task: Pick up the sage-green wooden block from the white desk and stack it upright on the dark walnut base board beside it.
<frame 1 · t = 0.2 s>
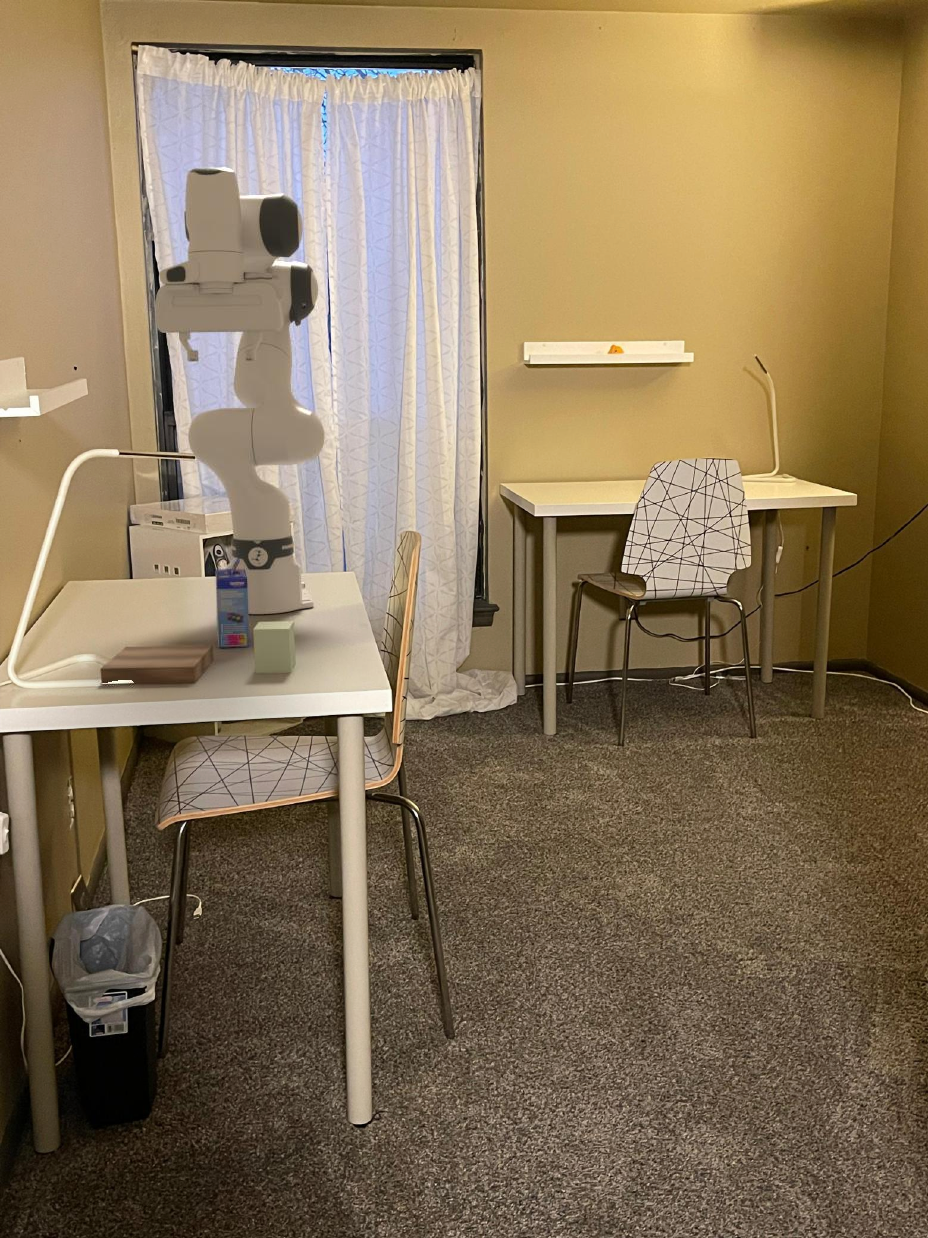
hand: (222, 360, 189), 47 cm above the table, fingers open, 8 cm apart
ink cartridge box: (234, 643, 201), on the table
walnut base: (159, 671, 181), on the table
sage block: (275, 668, 182), on the table
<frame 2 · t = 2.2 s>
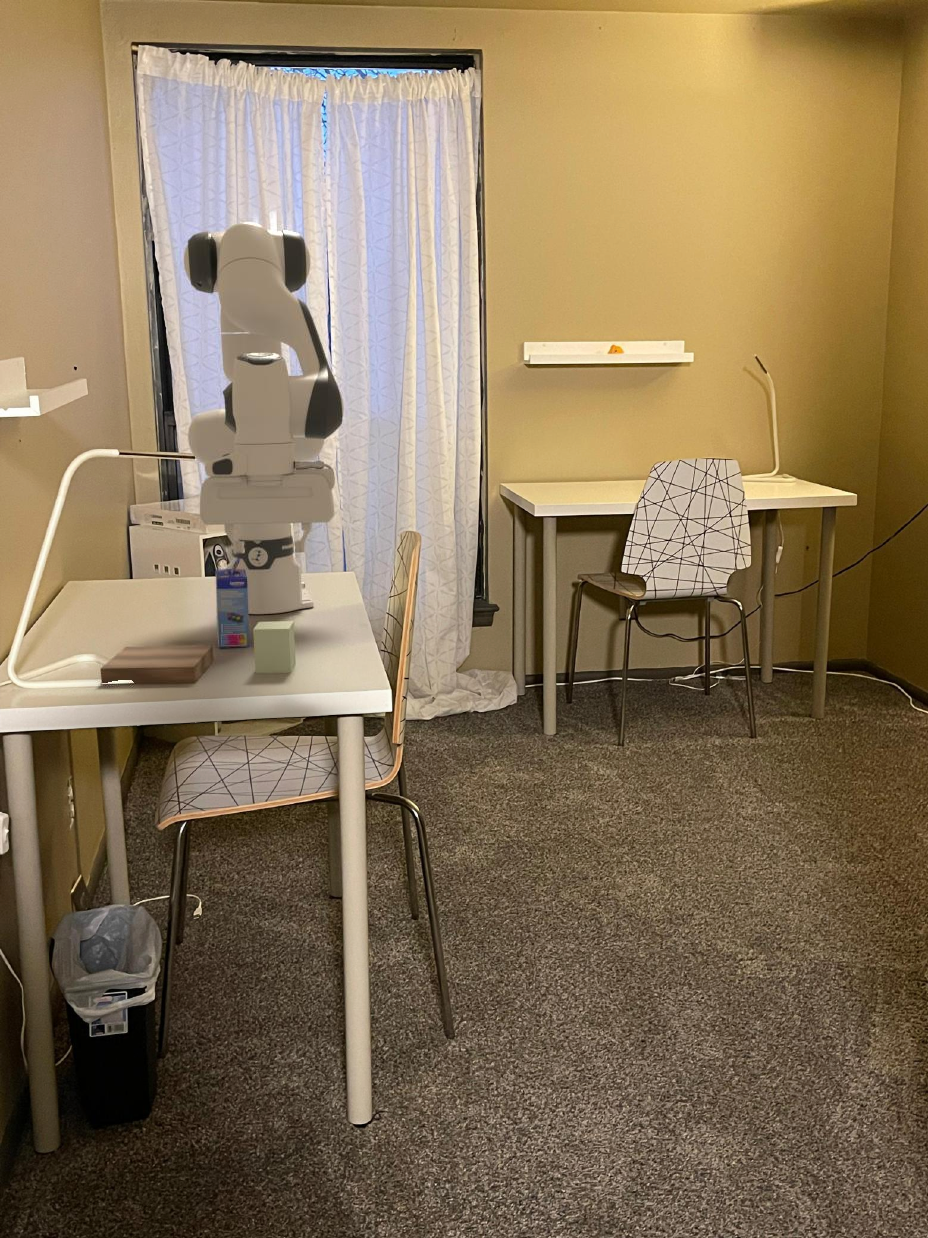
hand: (269, 552, 178), 18 cm above the table, fingers open, 8 cm apart
nothing on the table moved.
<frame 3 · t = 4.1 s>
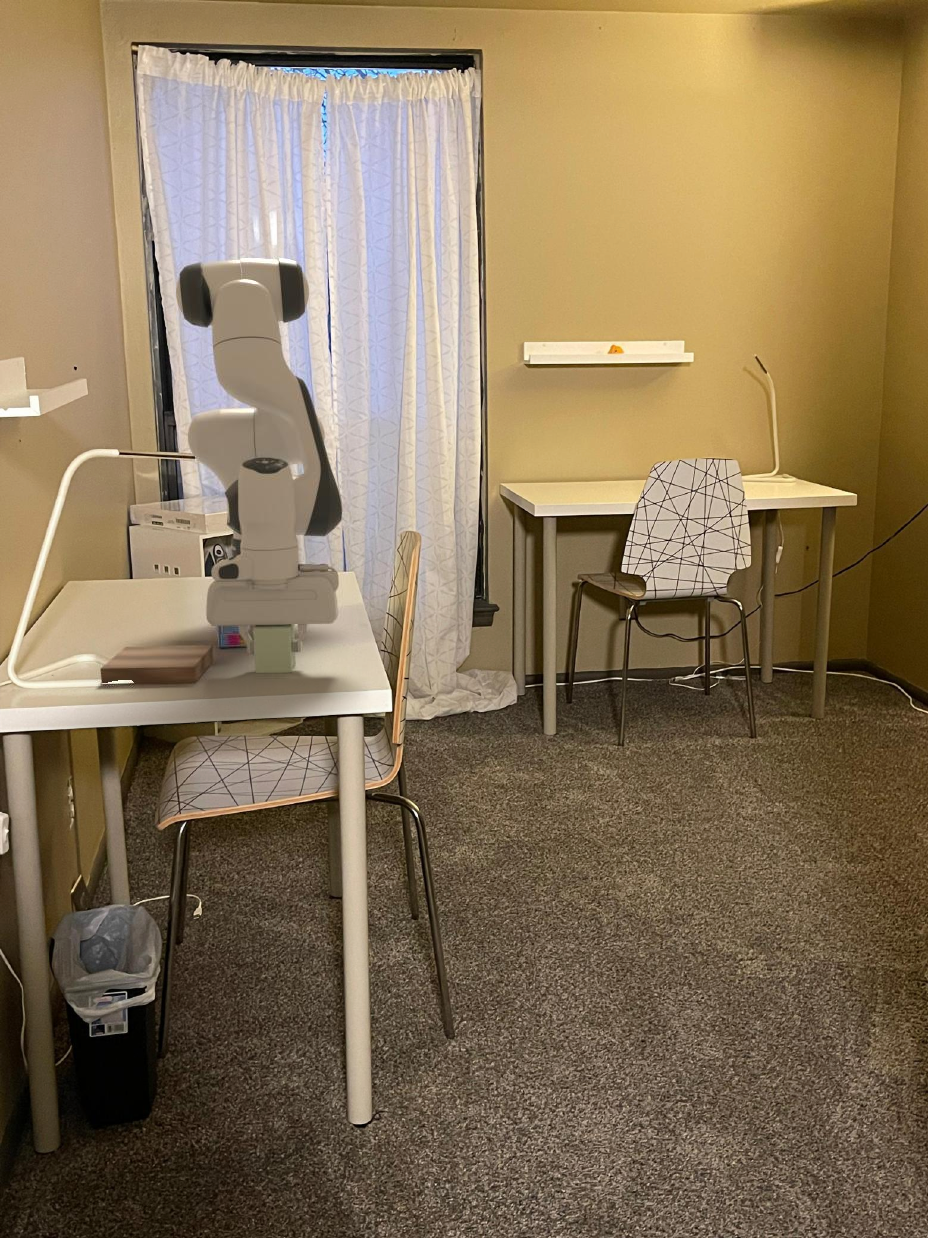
hand: (275, 652, 182), 3 cm above the table, fingers closed on sage block, 5 cm apart
sage block: (275, 668, 182), on the table, touching gripper
everything else where it was.
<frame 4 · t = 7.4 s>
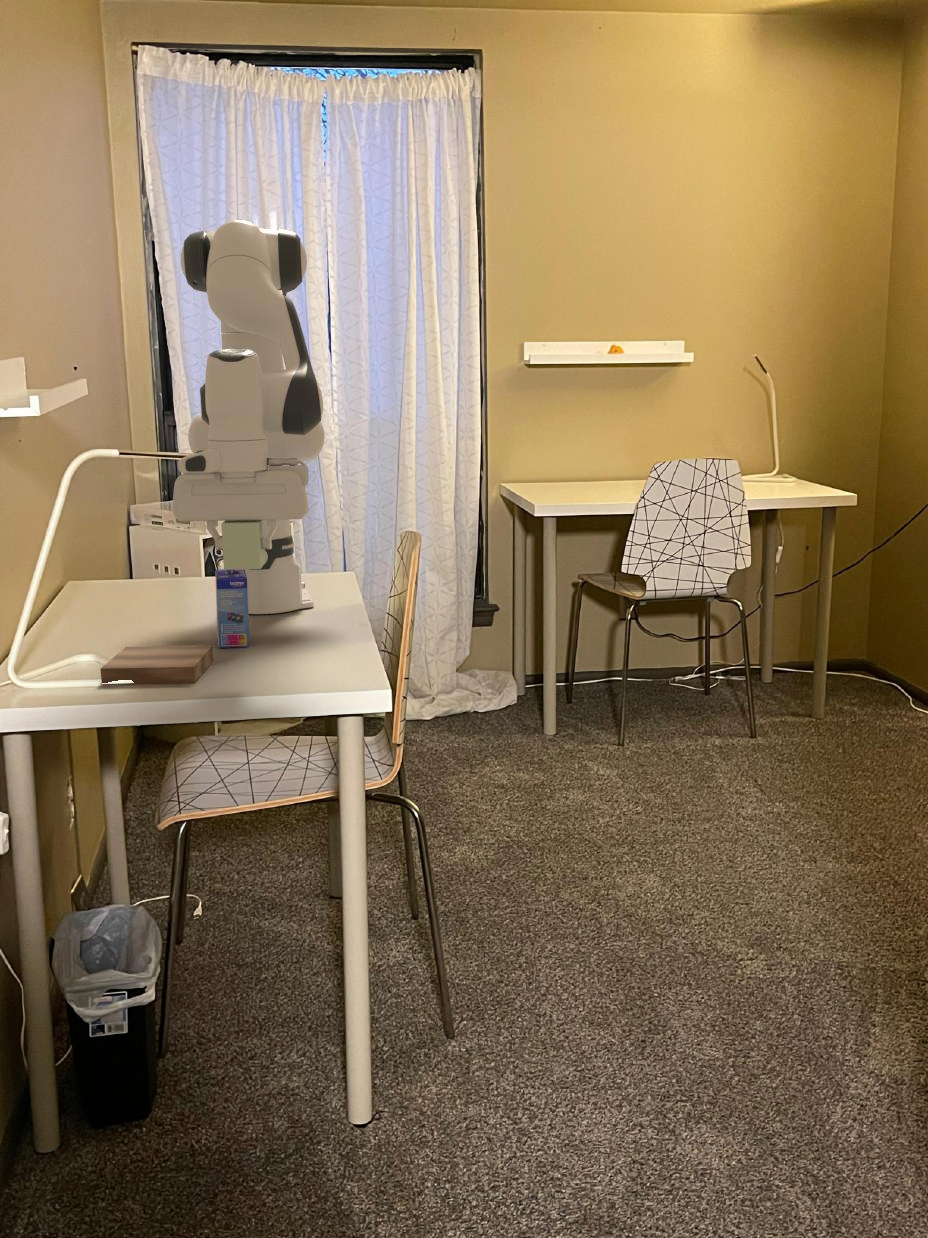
hand: (243, 549, 178), 19 cm above the table, fingers closed on sage block, 5 cm apart
sage block: (245, 566, 179), point 16 cm above the table, touching gripper
everything else where it was.
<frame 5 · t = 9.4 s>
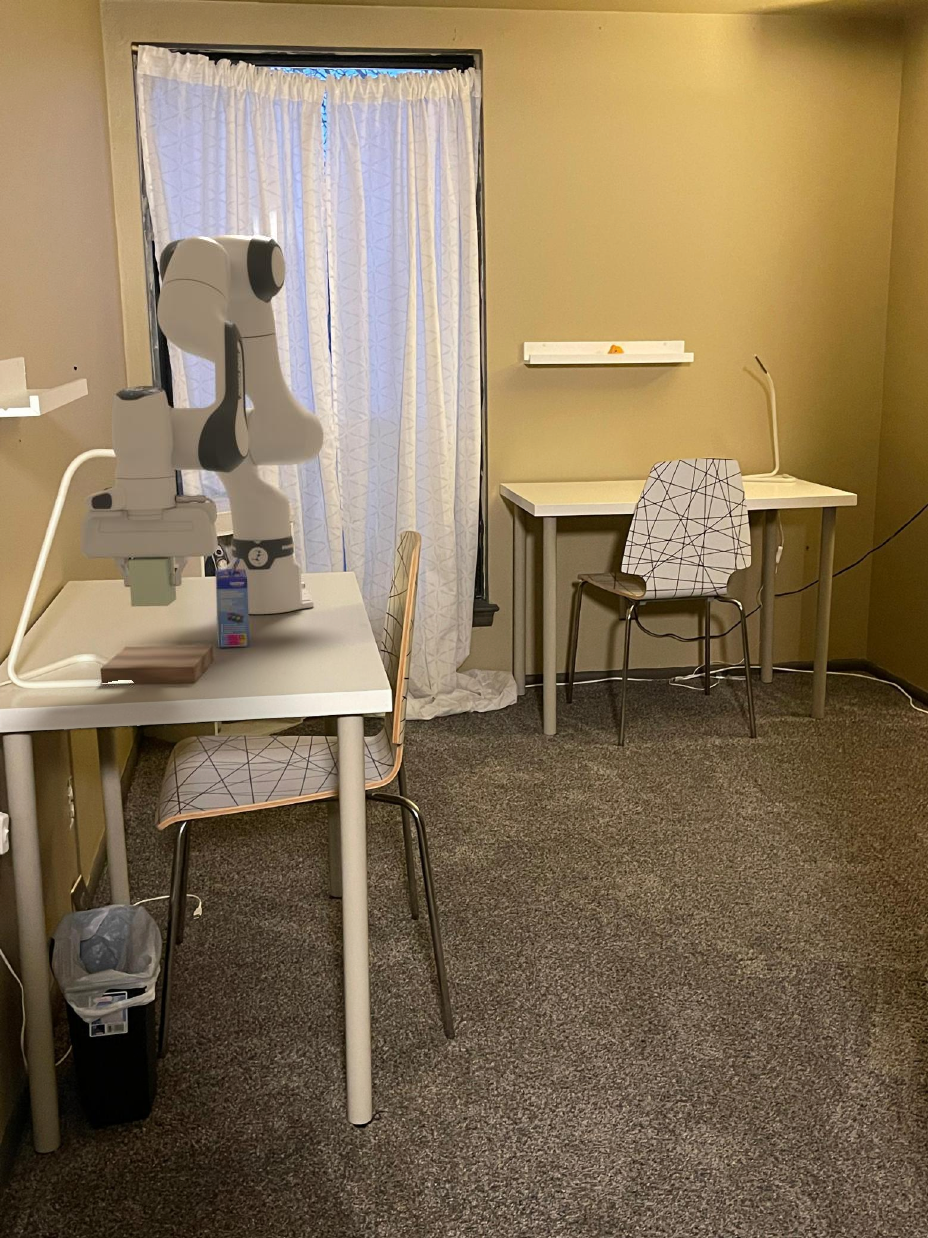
hand: (153, 585, 178), 14 cm above the table, fingers closed on sage block, 5 cm apart
sage block: (154, 602, 179), point 11 cm above the table, touching gripper
everything else where it was.
when the fingers open (7 cm above the table, at t = 11.1 s): sage block drops 1 cm, resting on walnut base.
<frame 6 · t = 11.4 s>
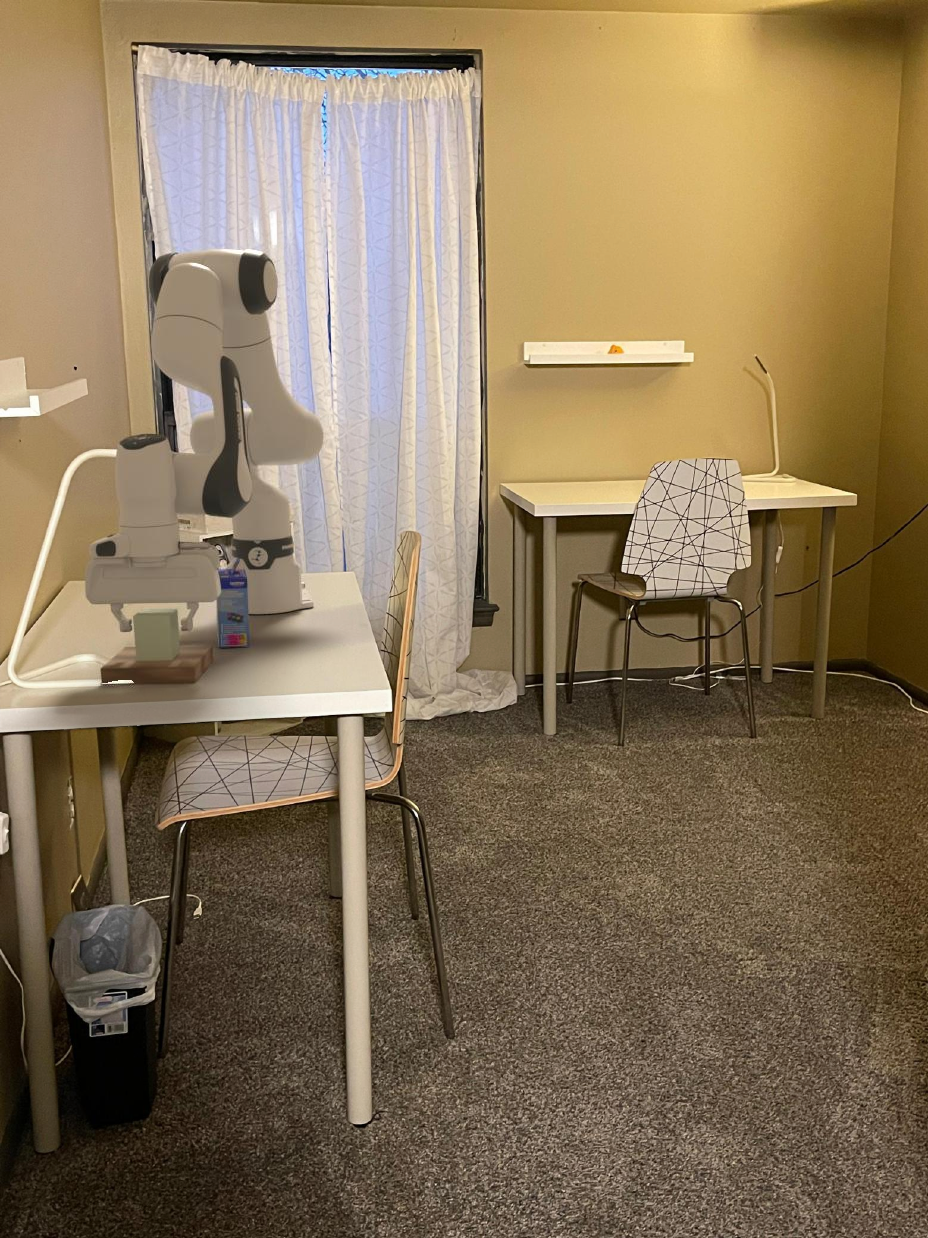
hand: (156, 630, 180), 7 cm above the table, fingers open, 8 cm apart
sage block: (158, 656, 181), point 2 cm above the table, touching walnut base
everything else where it was.
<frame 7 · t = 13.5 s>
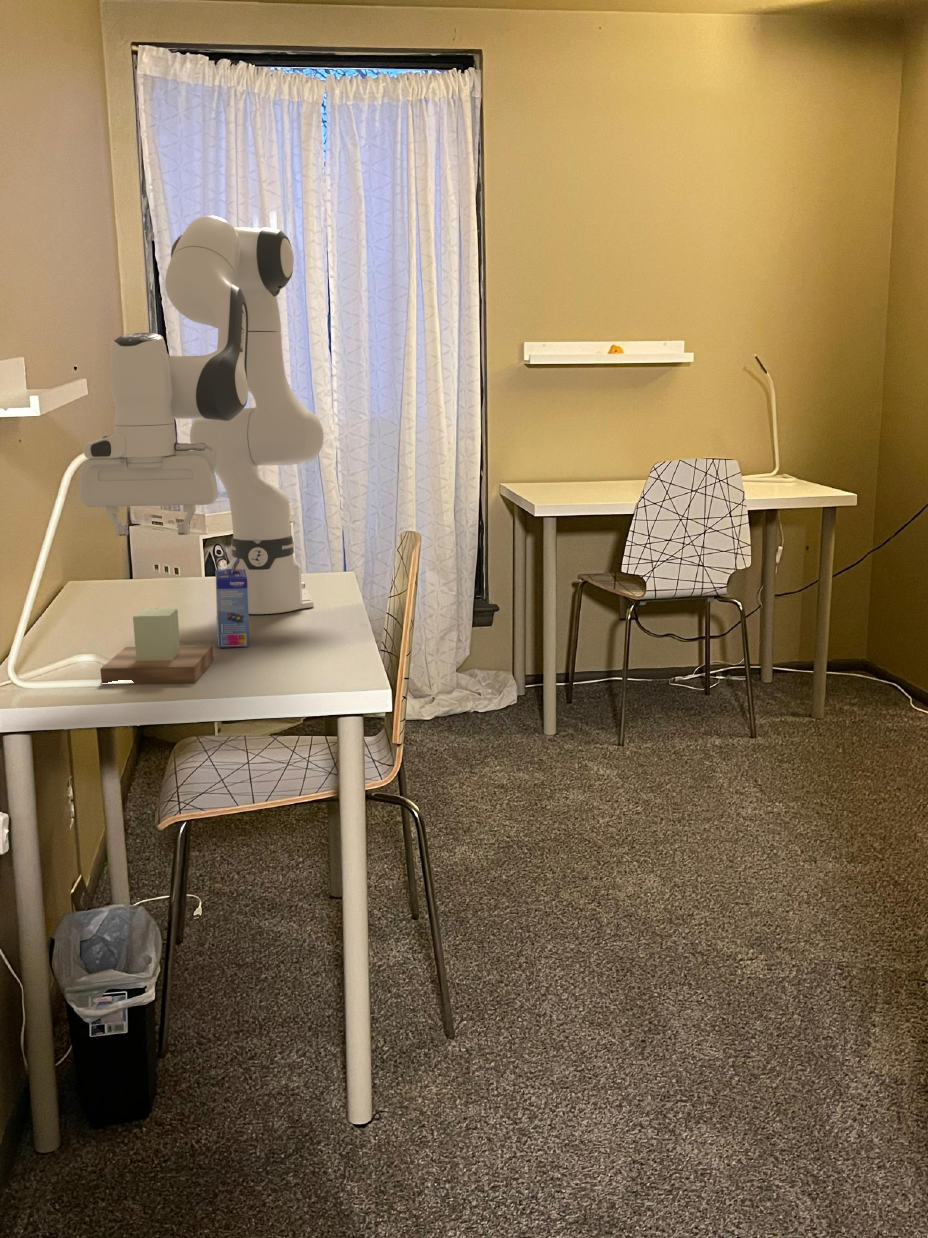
hand: (153, 534, 177), 21 cm above the table, fingers open, 8 cm apart
nothing on the table moved.
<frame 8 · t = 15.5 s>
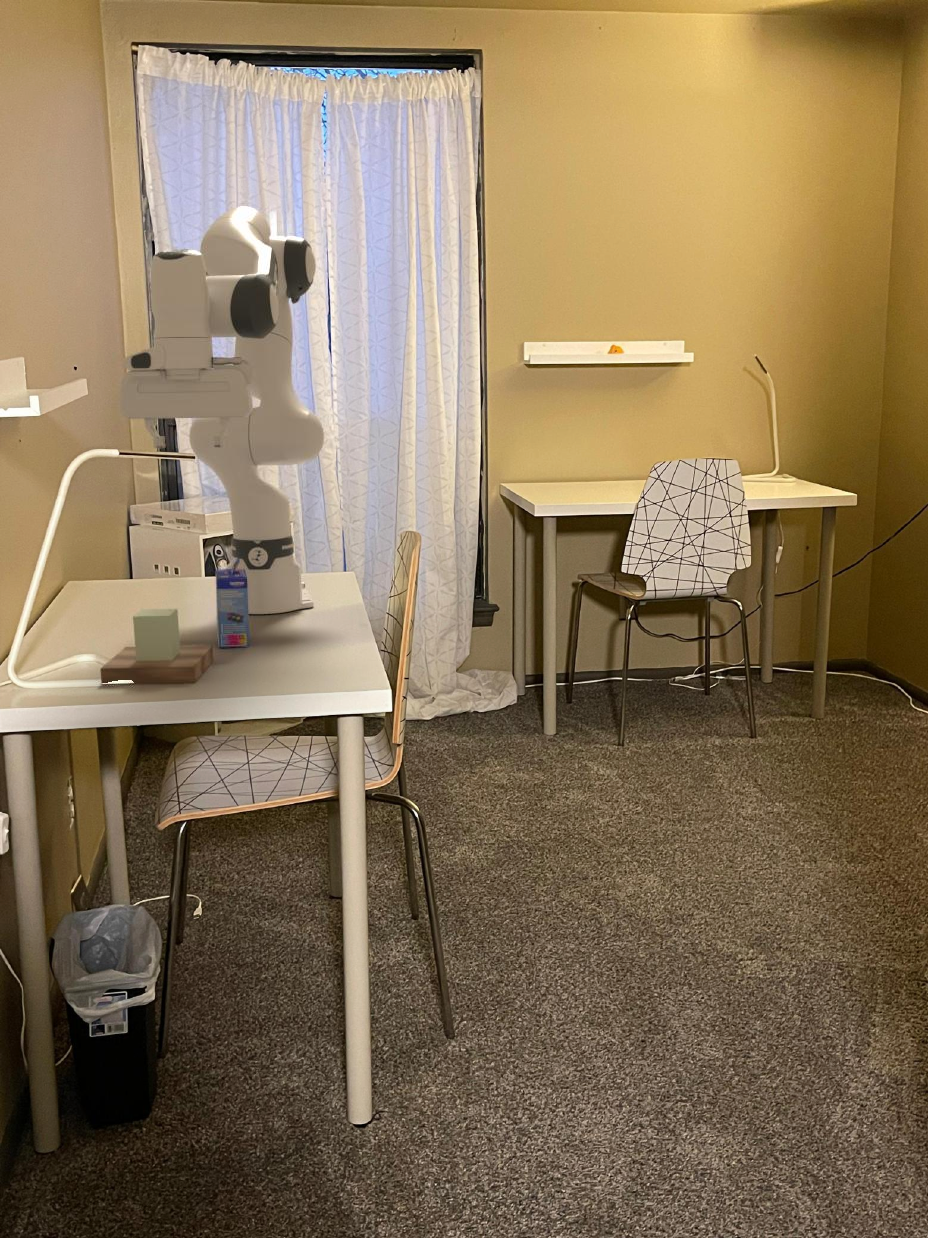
hand: (189, 447, 183), 34 cm above the table, fingers open, 8 cm apart
nothing on the table moved.
at the end: sage block inside the target area on the walnut base (0.0 cm from its centre), point 2.5 cm above the walnut base's base; sage block tilted 0°; the gripper is holding nothing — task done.
